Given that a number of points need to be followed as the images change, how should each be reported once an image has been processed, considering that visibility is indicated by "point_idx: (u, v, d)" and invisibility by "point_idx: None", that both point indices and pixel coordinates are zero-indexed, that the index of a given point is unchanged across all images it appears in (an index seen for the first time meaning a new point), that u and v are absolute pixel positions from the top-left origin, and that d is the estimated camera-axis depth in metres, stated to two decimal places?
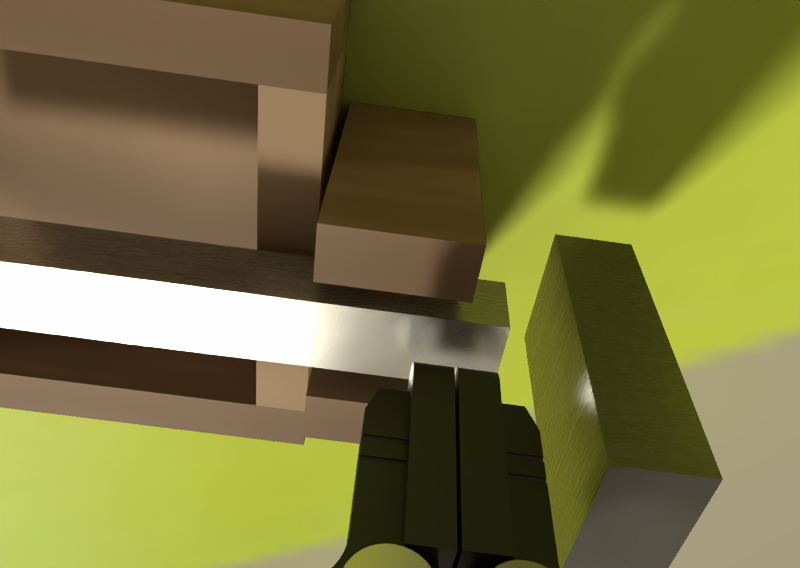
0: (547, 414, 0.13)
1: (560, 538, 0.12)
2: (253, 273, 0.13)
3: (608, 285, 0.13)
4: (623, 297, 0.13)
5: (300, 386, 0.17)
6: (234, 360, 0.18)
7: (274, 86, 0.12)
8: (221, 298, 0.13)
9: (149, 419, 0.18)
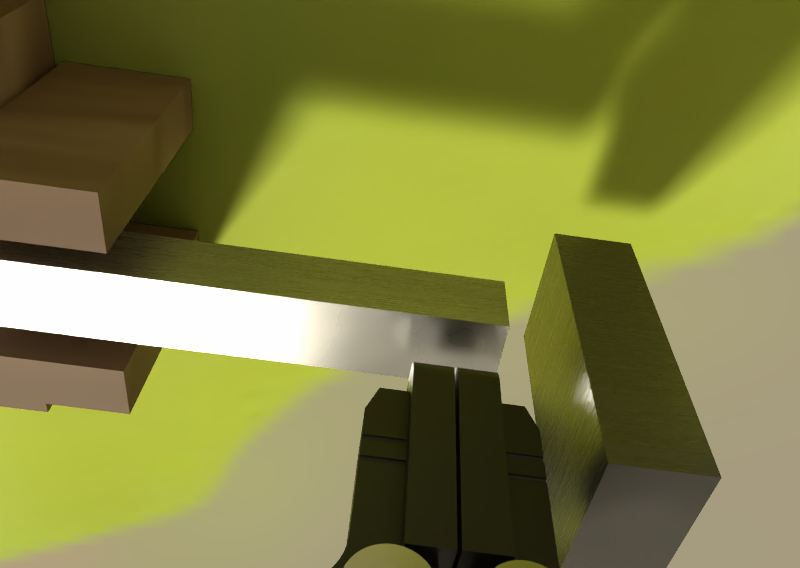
0: (546, 413, 0.13)
1: (559, 537, 0.12)
2: (253, 272, 0.13)
3: (607, 284, 0.13)
4: (622, 296, 0.13)
5: None
6: None
7: None
8: (220, 297, 0.13)
9: None
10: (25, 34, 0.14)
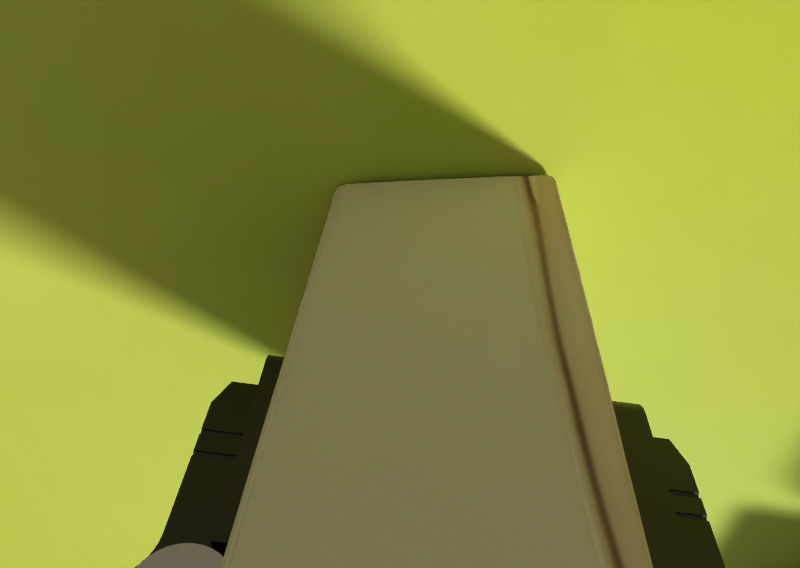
0: None
1: None
2: None
3: None
4: None
5: None
6: None
7: None
8: None
9: None
10: None
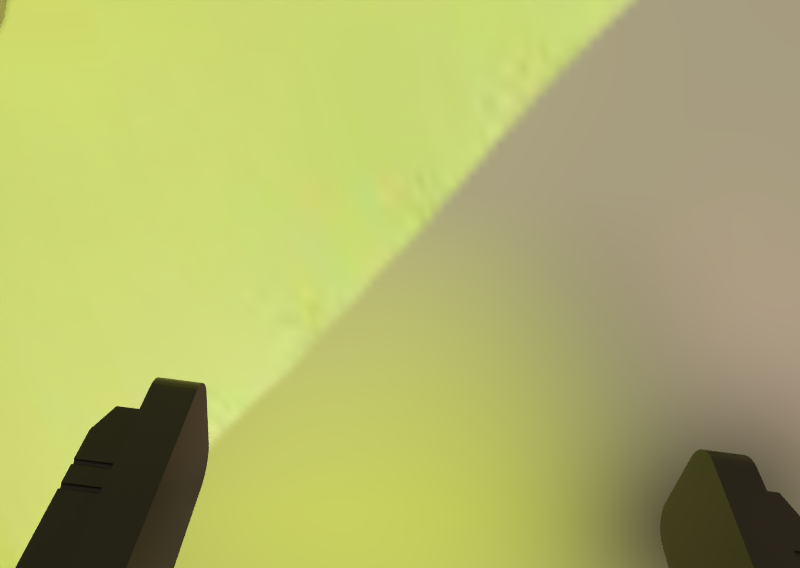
0: None
1: None
2: None
3: None
4: None
5: None
6: None
7: None
8: None
9: None
10: None
